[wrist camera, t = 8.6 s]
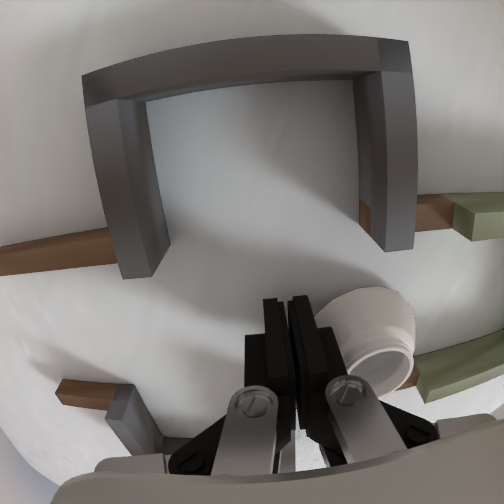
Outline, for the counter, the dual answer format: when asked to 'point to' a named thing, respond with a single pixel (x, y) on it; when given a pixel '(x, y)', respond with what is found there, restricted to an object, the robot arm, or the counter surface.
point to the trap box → (152, 216)
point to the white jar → (373, 335)
